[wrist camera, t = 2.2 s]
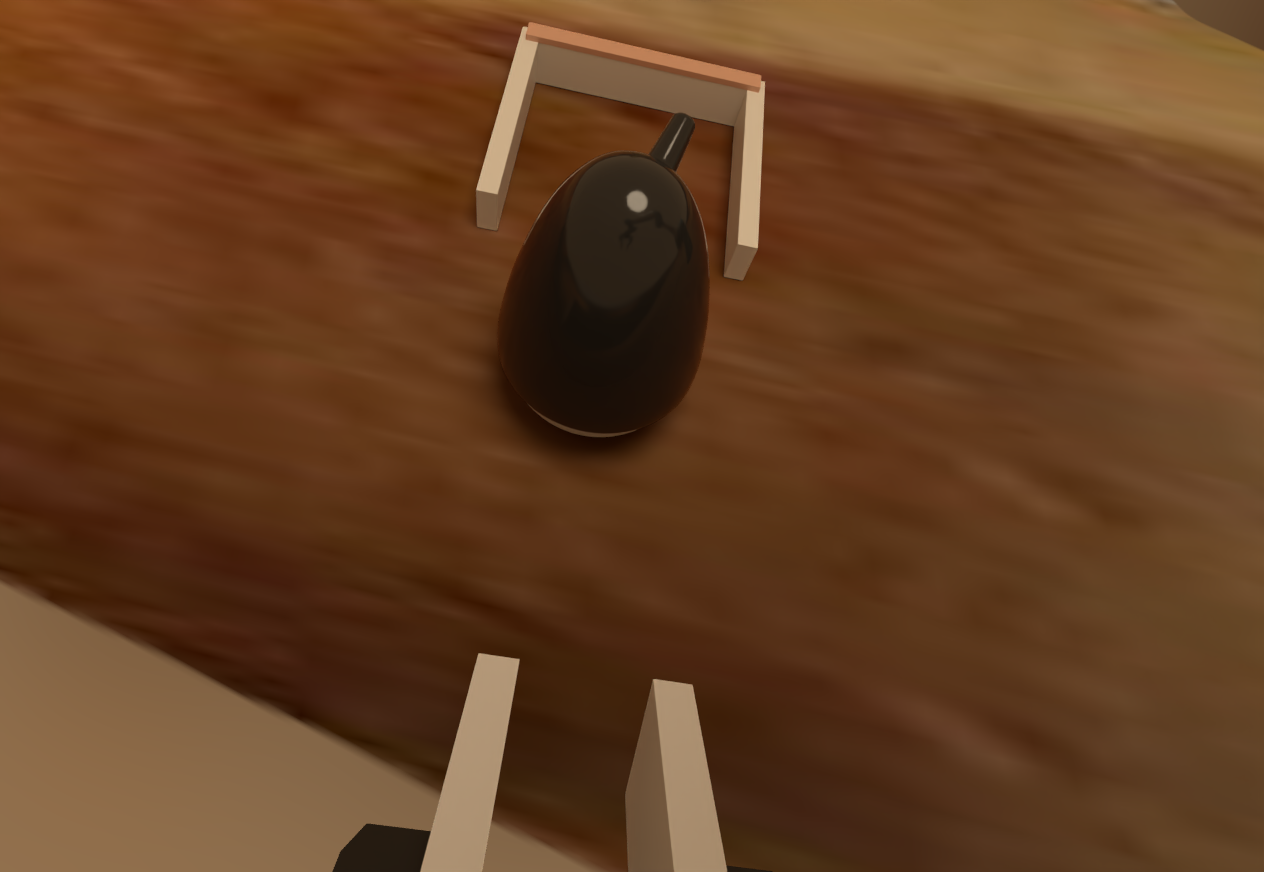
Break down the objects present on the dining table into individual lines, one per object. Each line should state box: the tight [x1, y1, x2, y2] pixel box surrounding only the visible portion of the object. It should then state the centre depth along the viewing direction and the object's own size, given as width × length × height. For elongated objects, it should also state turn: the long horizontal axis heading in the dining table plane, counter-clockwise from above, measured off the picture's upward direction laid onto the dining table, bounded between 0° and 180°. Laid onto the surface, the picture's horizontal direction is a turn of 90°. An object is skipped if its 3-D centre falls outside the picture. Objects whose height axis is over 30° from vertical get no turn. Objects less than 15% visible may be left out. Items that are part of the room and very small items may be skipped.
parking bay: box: [476, 22, 765, 281], centre depth 47 cm, size 16×15×3 cm
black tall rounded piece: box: [497, 112, 710, 437], centre depth 35 cm, size 10×10×15 cm
